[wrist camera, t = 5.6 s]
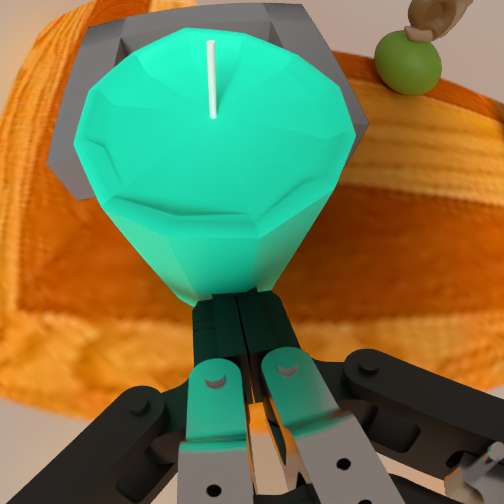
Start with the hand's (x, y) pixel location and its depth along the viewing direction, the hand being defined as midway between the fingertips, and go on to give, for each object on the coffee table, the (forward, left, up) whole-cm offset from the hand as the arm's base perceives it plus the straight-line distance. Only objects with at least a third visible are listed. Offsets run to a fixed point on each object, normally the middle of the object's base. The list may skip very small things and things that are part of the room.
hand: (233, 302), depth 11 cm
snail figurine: (-16, -15, -4) cm, 23 cm away
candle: (0, -3, -4) cm, 5 cm away
